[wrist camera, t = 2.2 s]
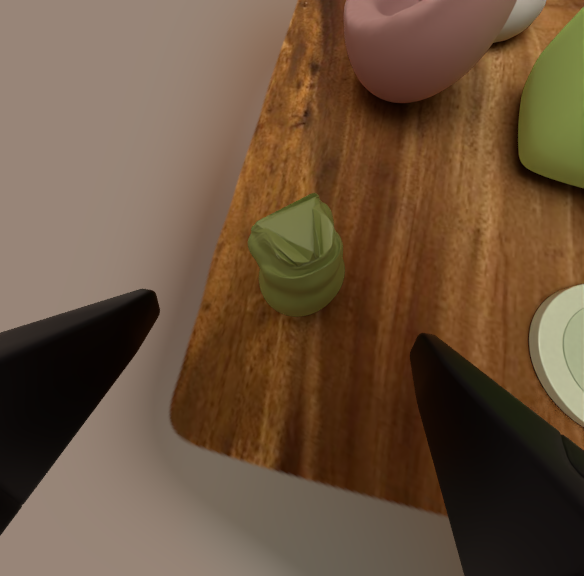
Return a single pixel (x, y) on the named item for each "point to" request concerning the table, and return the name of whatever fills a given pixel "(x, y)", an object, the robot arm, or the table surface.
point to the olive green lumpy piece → (298, 257)
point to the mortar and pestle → (419, 43)
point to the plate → (561, 349)
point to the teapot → (556, 109)
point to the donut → (520, 18)
